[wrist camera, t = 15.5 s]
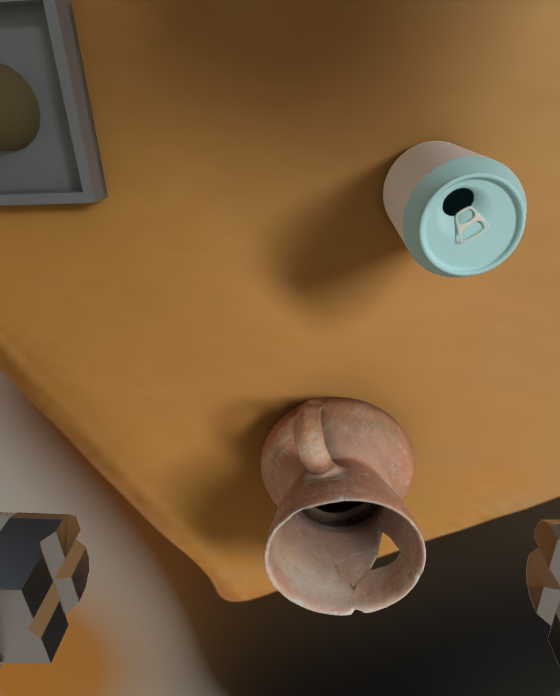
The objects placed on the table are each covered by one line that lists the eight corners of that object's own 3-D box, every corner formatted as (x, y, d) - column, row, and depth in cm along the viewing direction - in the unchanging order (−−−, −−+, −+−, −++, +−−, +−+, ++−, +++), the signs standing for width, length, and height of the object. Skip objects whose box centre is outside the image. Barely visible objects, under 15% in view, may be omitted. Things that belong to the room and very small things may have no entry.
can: (367, 217, 40) (387, 264, 29) (405, 125, 37) (443, 140, 26) (448, 247, 41) (496, 303, 30) (493, 159, 38) (564, 187, 27)
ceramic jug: (422, 497, 53) (458, 623, 40) (288, 521, 55) (282, 647, 42) (388, 346, 45) (419, 441, 33) (236, 382, 48) (210, 483, 35)
